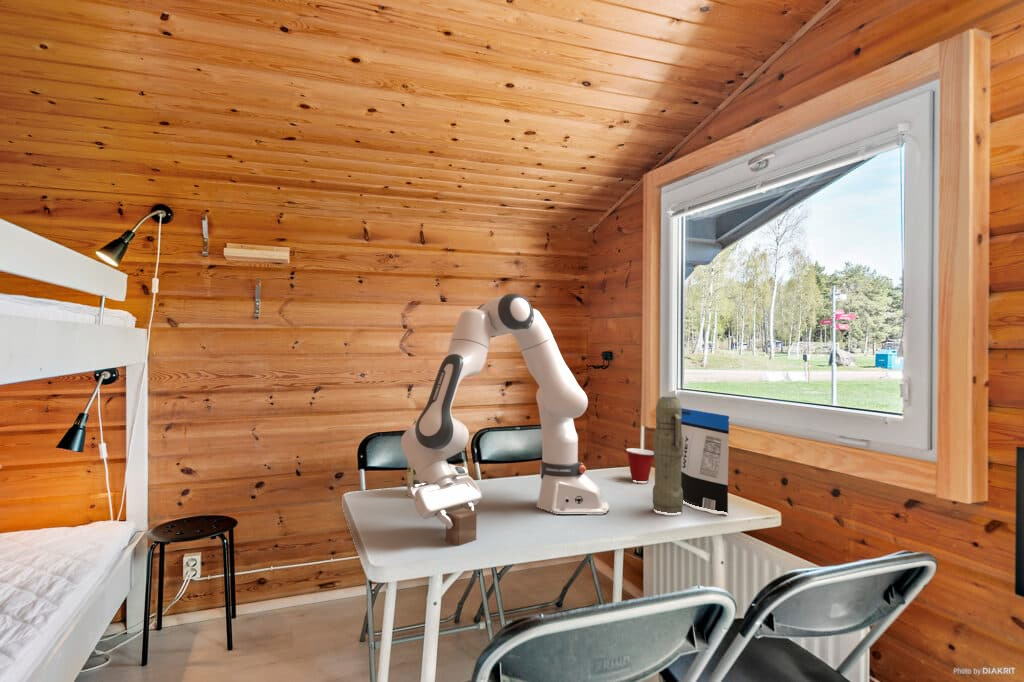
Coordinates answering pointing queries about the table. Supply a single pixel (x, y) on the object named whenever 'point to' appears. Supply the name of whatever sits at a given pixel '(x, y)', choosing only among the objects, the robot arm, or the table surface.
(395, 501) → the table surface
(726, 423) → the protein powder
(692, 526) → the table surface
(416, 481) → the coffee can
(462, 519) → the wooden toy cube
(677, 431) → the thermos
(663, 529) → the table surface
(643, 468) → the plastic cup
